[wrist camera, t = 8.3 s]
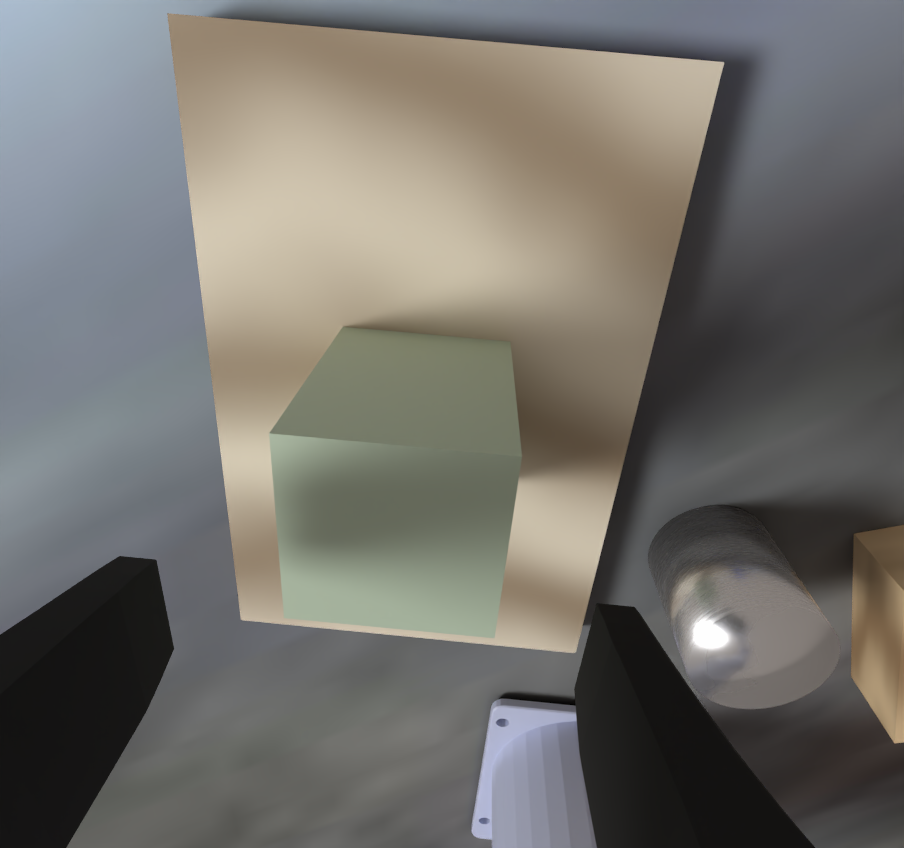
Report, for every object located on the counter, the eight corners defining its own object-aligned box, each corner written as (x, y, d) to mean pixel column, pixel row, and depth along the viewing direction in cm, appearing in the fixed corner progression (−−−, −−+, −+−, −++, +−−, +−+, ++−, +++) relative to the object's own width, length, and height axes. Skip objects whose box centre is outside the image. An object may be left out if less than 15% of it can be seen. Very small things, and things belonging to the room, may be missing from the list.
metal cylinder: (748, 602, 21) (809, 715, 17) (636, 591, 21) (670, 701, 17) (786, 511, 19) (864, 614, 15) (663, 499, 19) (709, 599, 15)
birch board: (571, 627, 22) (575, 653, 21) (253, 595, 22) (241, 620, 21) (706, 66, 14) (724, 62, 13) (192, 21, 14) (167, 13, 13)
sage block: (492, 482, 18) (494, 638, 12) (344, 468, 18) (283, 618, 13) (510, 341, 16) (521, 456, 10) (343, 326, 16) (268, 433, 10)
